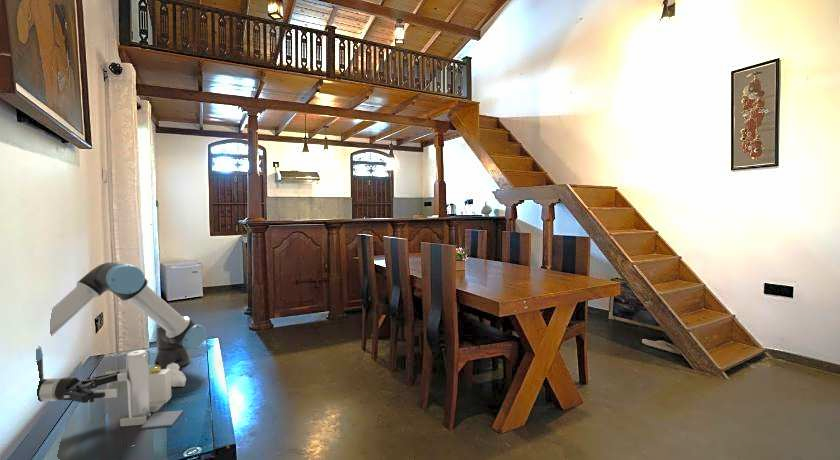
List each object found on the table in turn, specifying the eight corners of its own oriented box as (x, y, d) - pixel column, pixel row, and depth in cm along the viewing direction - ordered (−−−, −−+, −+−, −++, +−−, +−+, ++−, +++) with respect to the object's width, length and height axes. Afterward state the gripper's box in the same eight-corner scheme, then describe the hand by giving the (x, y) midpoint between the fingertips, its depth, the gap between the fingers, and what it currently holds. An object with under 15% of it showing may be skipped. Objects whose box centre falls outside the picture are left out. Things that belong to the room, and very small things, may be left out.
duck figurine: (174, 385, 178) (154, 370, 173) (188, 371, 182) (170, 356, 177) (179, 395, 169) (159, 379, 164) (194, 380, 173) (175, 364, 168)
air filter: (139, 423, 143) (136, 356, 142) (124, 421, 144) (121, 354, 143) (154, 414, 150) (151, 349, 148) (140, 412, 151) (137, 348, 149)
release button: (152, 373, 161) (152, 365, 160) (162, 373, 161) (162, 365, 161) (148, 377, 157) (147, 369, 157) (158, 376, 158) (157, 368, 157)
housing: (147, 399, 161) (146, 370, 161) (171, 397, 163) (170, 368, 162) (118, 426, 141) (117, 393, 141) (146, 424, 143) (145, 391, 142)
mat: (154, 414, 150) (154, 412, 150) (183, 411, 151) (183, 410, 151) (140, 428, 140) (140, 427, 140) (171, 425, 142) (171, 424, 142)
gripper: (84, 383, 154) (145, 379, 158) (34, 417, 129) (107, 411, 133) (83, 364, 153) (144, 361, 157) (32, 395, 129) (105, 389, 133)
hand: (127, 384), depth 145 cm, fingers open, 13 cm apart
